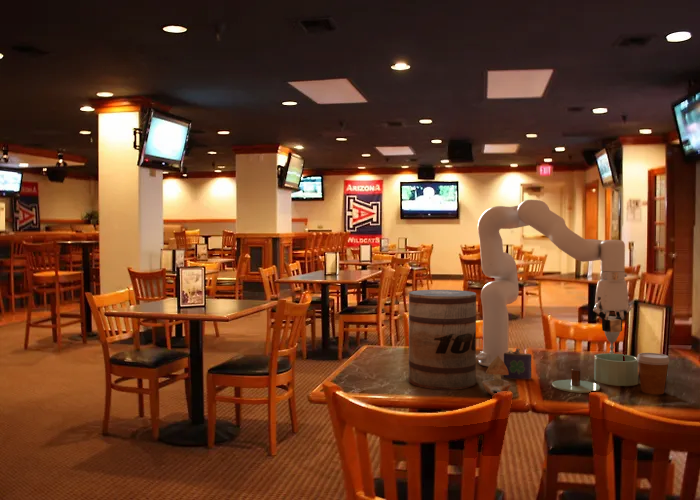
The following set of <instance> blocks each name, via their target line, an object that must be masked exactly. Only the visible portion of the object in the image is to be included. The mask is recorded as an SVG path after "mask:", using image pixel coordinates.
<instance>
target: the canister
mask: <svg viewBox="0 0 700 500" xmlns="http://www.w3.org/2000/svg"><path fill="white" fill-rule="evenodd" d="M623 356H624V357H625V361H623ZM637 357H638V356H634V355H630V354H625V355H624V354H623V353H610V352H609V353H608V352H607V353H604V352H603V353H598V354H597V353H596V354H595V355H594V356H593V380H594V381H595V382H597V383H599V384H603V385H609V386H618V387H630V386H631V387H632V386H637V385H639V383H640V375H639V367H638V361H637V359H636V358H637Z"/></svg>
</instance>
